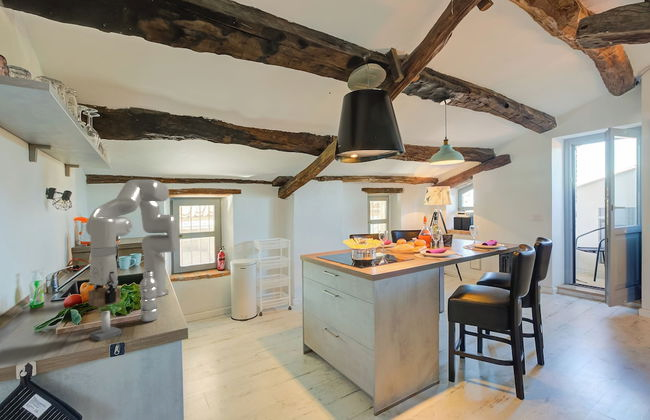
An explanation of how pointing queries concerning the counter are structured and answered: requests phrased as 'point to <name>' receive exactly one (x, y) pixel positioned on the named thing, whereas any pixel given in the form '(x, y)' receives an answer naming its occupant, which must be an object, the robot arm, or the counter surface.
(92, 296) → the wooden block with hole
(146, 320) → the plastic bottle
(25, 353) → the counter surface
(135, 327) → the counter surface
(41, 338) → the counter surface
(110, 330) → the post base
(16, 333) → the counter surface
